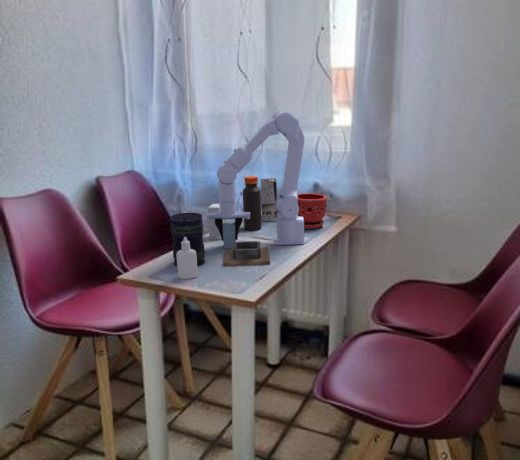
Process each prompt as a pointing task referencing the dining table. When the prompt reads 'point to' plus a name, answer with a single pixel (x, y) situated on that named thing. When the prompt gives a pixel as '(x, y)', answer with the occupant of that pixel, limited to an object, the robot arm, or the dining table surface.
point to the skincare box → (213, 228)
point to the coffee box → (269, 199)
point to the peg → (229, 234)
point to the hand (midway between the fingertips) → (229, 239)
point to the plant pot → (312, 209)
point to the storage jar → (188, 234)
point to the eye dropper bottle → (186, 261)
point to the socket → (246, 254)
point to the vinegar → (252, 204)
